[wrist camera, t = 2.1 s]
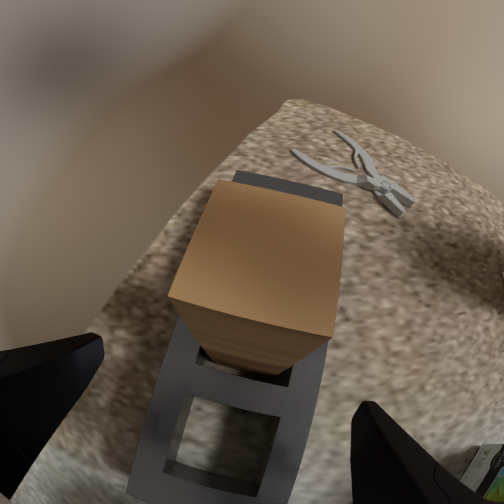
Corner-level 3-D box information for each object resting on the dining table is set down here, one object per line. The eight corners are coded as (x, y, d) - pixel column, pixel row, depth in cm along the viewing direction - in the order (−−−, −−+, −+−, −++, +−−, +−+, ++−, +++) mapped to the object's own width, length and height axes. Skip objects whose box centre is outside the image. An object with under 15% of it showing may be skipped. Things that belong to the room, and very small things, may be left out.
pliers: (339, 124, 34) (424, 190, 28) (336, 133, 35) (419, 198, 30) (291, 144, 30) (391, 226, 25) (289, 154, 32) (385, 235, 26)
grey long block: (270, 515, 12) (275, 534, 9) (142, 481, 13) (125, 493, 10) (332, 217, 27) (342, 194, 24) (236, 195, 27) (236, 170, 24)
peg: (272, 377, 19) (332, 337, 7) (214, 363, 19) (167, 296, 7) (285, 323, 21) (345, 207, 9) (230, 309, 21) (218, 179, 9)
